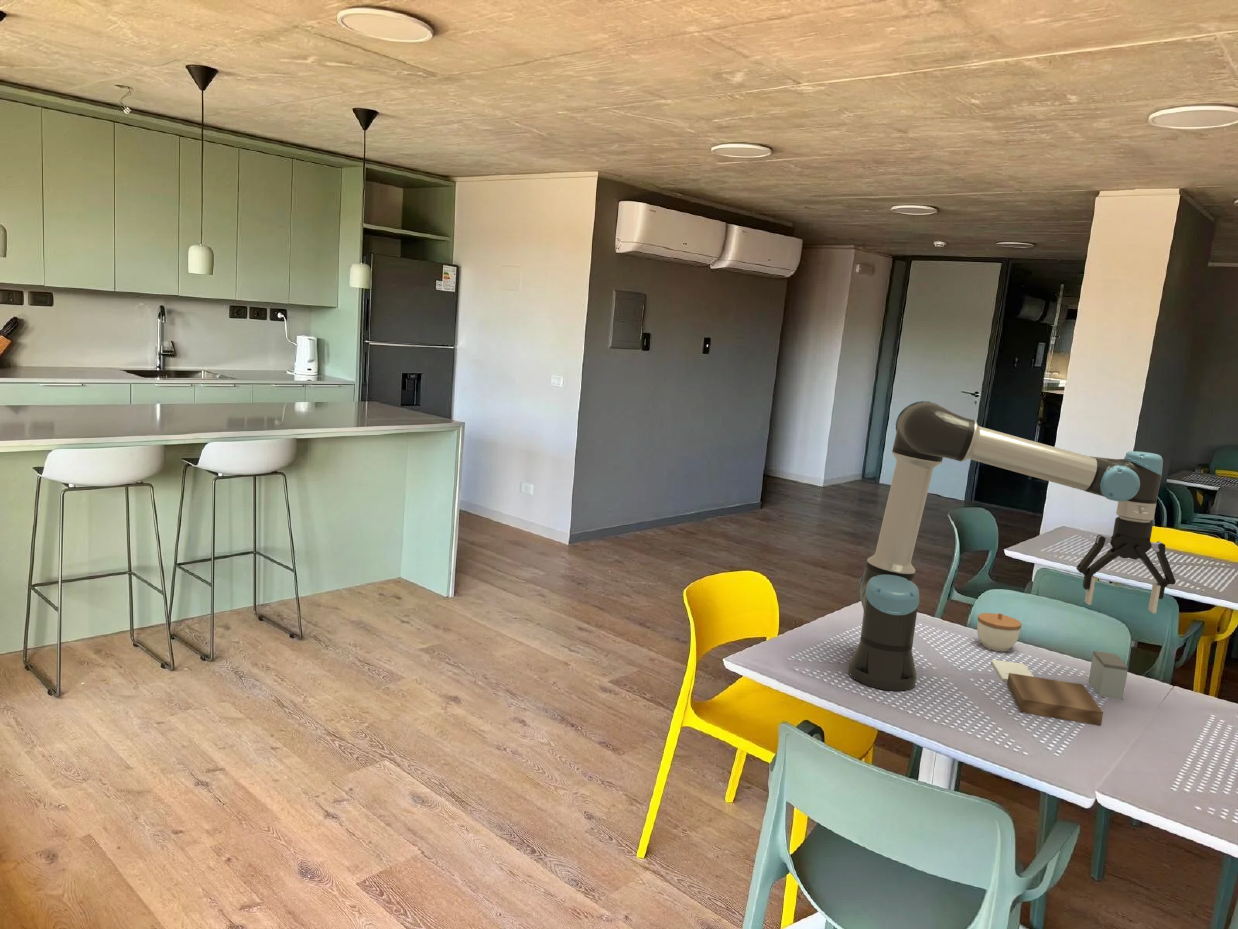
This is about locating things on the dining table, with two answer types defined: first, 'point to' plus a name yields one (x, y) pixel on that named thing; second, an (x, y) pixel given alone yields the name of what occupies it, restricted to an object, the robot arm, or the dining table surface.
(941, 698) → the dining table surface
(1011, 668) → the external hard drive
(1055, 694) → the walnut stand
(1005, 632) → the lidded jar
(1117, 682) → the block
